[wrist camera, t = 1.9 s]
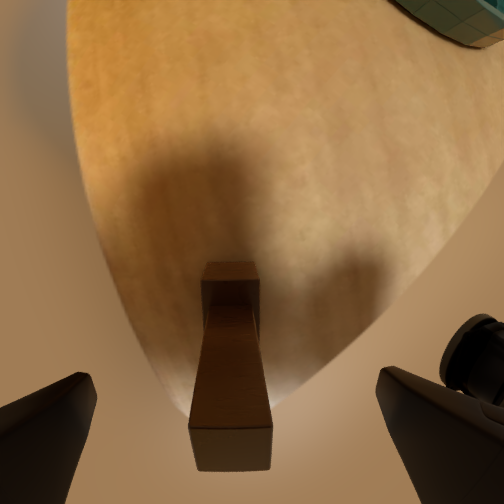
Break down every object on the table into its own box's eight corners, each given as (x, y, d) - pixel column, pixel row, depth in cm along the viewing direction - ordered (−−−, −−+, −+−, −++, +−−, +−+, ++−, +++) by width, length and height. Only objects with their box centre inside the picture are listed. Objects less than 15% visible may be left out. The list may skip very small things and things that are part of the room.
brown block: (254, 332, 16) (280, 489, 6) (210, 333, 16) (191, 491, 6) (254, 261, 15) (291, 385, 5) (206, 262, 15) (164, 387, 5)
